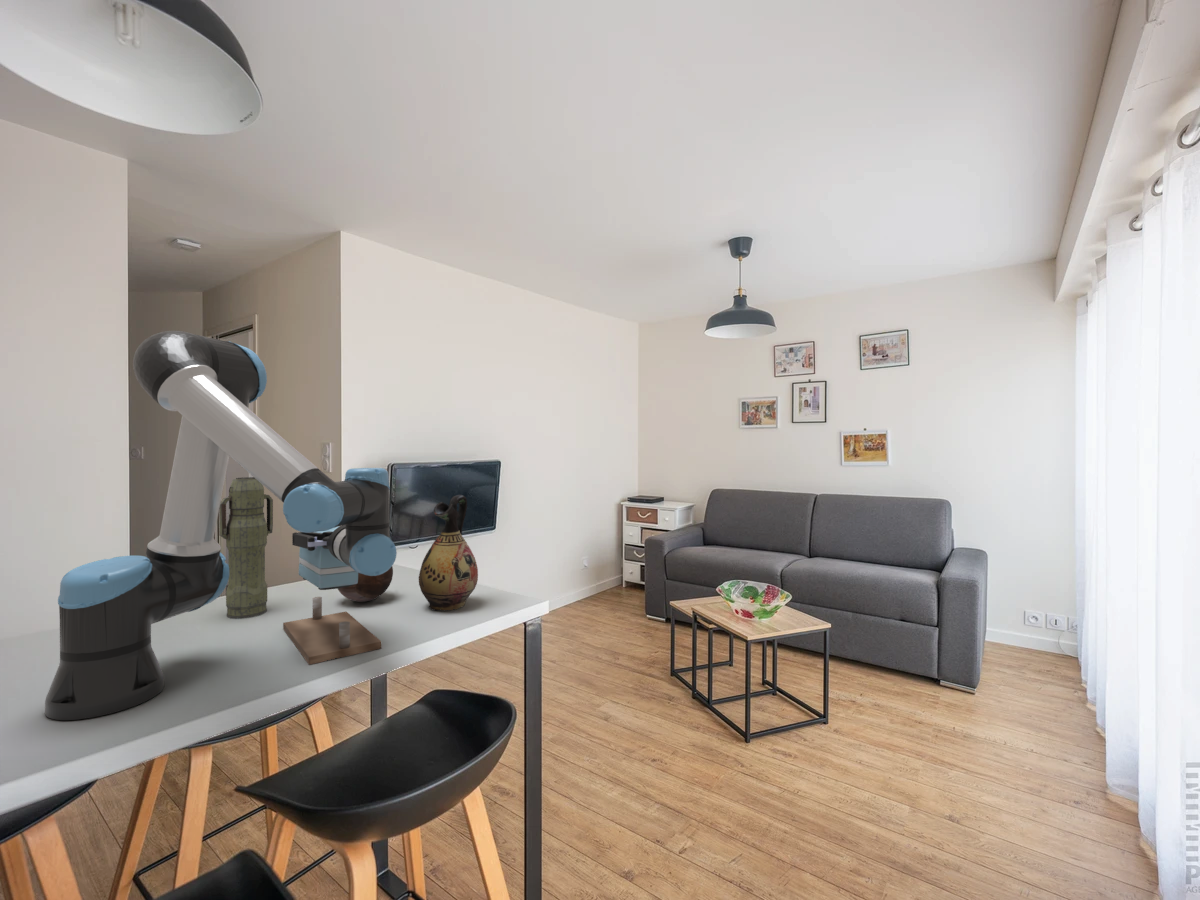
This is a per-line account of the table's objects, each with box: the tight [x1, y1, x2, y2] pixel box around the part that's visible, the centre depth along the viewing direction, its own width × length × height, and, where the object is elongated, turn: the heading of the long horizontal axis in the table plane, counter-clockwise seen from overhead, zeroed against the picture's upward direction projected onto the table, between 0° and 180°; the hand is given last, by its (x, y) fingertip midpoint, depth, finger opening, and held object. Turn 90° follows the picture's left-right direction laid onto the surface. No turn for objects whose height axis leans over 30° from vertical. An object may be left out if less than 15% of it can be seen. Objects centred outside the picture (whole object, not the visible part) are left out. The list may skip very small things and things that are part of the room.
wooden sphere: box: [337, 566, 394, 603], centre depth 153 cm, size 15×15×15 cm
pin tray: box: [282, 596, 382, 666], centre depth 124 cm, size 14×27×6 cm, turn 39°
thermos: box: [218, 476, 274, 620], centre depth 141 cm, size 9×12×35 cm
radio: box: [298, 526, 358, 591], centre depth 124 cm, size 16×9×20 cm, turn 43°
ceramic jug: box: [418, 494, 479, 612], centre depth 149 cm, size 17×15×30 cm
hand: (324, 530), depth 127 cm, fingers closed on radio, 9 cm apart
